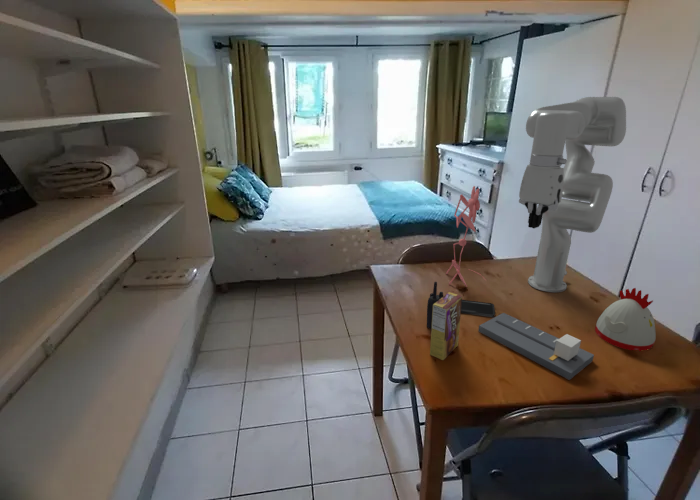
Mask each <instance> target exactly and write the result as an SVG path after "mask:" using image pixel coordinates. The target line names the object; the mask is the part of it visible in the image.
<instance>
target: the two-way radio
mask: <svg viewBox="0 0 700 500" xmlns="http://www.w3.org/2000/svg"><path fill="white" fill-rule="evenodd" d="M437 292H438V282H437V281H434V282H433V291H432V293H430V294H429V297H428V300H427V305H426V306H427V307H426V328H427V329H430V330H431V328H432V312H433V304H435V303H436V302H437V301H438V300H440V299H441V298H442V297H443V296H444V292H443V291H439V294H438V293H437Z"/></svg>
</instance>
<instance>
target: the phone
mask: <svg viewBox="0 0 700 500" xmlns="http://www.w3.org/2000/svg"><path fill="white" fill-rule="evenodd" d="M461 314H463V315H464V314H465V315H473V316H479V317H480V316H481V317H486V318H494V317H496V311H495V304H493V302H492V303H490V302H483V301H478V300H477V301H475V300H468V299H462V303H461Z"/></svg>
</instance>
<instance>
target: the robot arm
mask: <svg viewBox="0 0 700 500" xmlns="http://www.w3.org/2000/svg"><path fill="white" fill-rule="evenodd" d="M525 131H526V133H527V136H529V137H530V138H533V140H532V147H531V153H530V158H529V164H527V166H526V167H525V170H524V173H523V176H522V179H521V183H520V187H519V194H518V196H519V200H518V203H519V204H521V205H523V206H525V208H526V209H527V213H528V219H527V223H528V225H527V226H528V228H532V229H537V228H539V227H540V226H542V227H541V233H540V240H539V244H538V250H537V255H536V260H535V265H534V270H533V275H530V276H529V277H528V279H527V283H528V285H530V286H531V287H532V288H533V289H536V290H539V291H543V292H545V293H546V292H547V293H562V292H564V291H566V289H567V287H568V285H567V283H566V281H564V277H565V276H567V274H568V272H567V270H566V268H567V263H568V258H569V255H570V251H571V245H572V238H571V235H570V234H569V231H568V230H571V231H575V232H576V231H577V232H583V233H595V232H596V231H598V230H599V228H600V226H601V224H602V221H603V218H604V216H605V213H606V209H607V207H608V204H609V201H610V199H611V195H612V193H613V187H614V181H613V178H612V177H611V176H610V175H608V174H604V173H598V172H593V169H594V166H595V158H594V156H593V154H592V153H591V152H590V150H589V149H588V148H587V147H586V146H595V147H617V146H618V145H620V144H621V143H623V141H624V139H625V136H626V132H627V107H626V104H625V101H624V100H623V99H622V97H618V96H584V97H581V98H579V99H576V100H575V101H571V102H566V103H565V102H564V103H561V104H560V103H559V104H553V105H547V106H541V107H539V108H536V109H535V110H533V111H532V112H531V113H530V114H529V116H528V118H527V120H526V122H525ZM564 150H566V151H565V152H566V158H564ZM562 165H564V166H562Z"/></svg>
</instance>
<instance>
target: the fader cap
mask: <svg viewBox="0 0 700 500" xmlns="http://www.w3.org/2000/svg"><path fill="white" fill-rule="evenodd" d="M581 342H582V340H581V339H579V338H577V337H574V336H572V335H570V334H568V333H566V334H564V335H563V336H561V337H560V338H559V339H558V340H557V342H556V346H555V351H554V354H555V355H557V356H559V357H561V358H563V359H565V360H567V361H569V360H570V359H571V358H573V357H574V356H575V355H577V354H578V351H579V348H581Z"/></svg>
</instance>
